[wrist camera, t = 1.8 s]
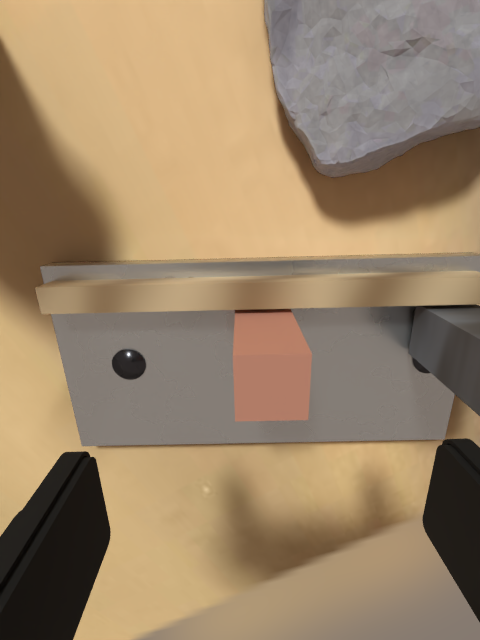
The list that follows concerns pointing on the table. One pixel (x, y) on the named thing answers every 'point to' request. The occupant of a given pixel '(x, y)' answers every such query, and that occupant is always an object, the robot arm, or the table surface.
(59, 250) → the table surface
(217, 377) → the bolt plate
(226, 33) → the table surface
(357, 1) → the stone block
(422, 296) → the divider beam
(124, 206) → the table surface
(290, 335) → the block
